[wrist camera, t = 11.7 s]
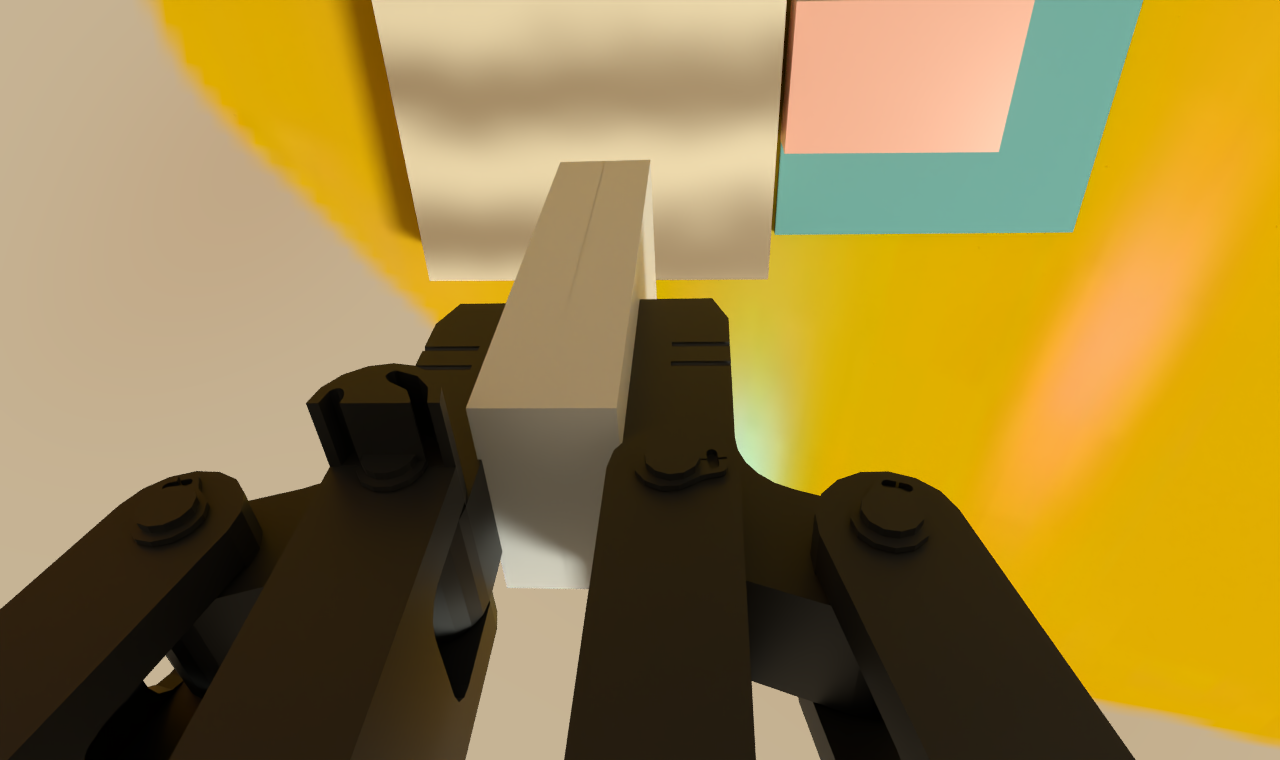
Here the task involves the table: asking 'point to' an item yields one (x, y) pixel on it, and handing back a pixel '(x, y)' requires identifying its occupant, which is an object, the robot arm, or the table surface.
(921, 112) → the pink rectangular block
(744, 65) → the beige striped slab
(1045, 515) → the table surface
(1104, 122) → the mat
